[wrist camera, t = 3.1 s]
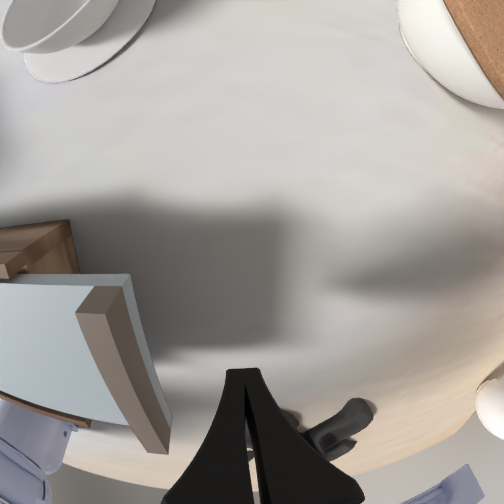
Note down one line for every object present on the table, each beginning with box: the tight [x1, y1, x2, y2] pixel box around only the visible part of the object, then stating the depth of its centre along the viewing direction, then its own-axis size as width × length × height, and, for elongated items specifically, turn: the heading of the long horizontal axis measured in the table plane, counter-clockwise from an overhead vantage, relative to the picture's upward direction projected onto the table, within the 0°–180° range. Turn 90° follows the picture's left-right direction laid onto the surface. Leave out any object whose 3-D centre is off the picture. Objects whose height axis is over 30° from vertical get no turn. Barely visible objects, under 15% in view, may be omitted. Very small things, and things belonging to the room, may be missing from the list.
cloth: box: [245, 398, 373, 462], centre depth 24 cm, size 22×19×6 cm
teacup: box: [1, 0, 156, 83], centre depth 7 cm, size 10×10×5 cm
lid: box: [0, 274, 172, 455], centre depth 10 cm, size 10×16×3 cm, turn 90°
